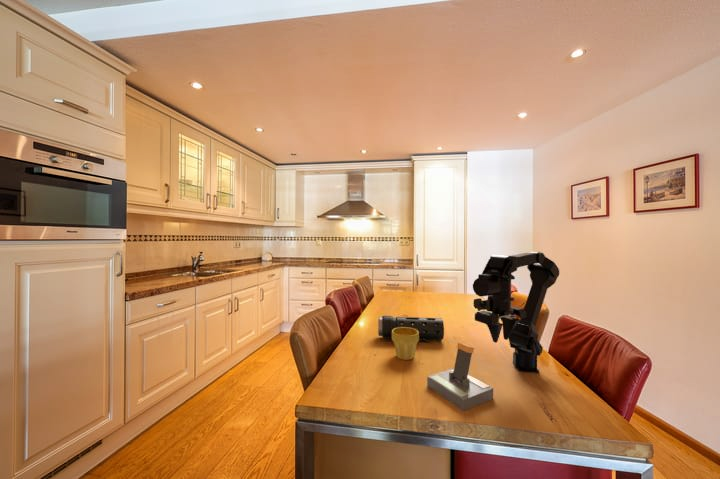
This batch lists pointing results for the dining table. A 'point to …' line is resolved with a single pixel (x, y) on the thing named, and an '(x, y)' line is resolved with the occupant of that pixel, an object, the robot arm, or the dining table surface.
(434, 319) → the muzzle brake
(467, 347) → the handle
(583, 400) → the dining table surface
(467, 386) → the switch base
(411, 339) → the plant pot
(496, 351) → the dining table surface
